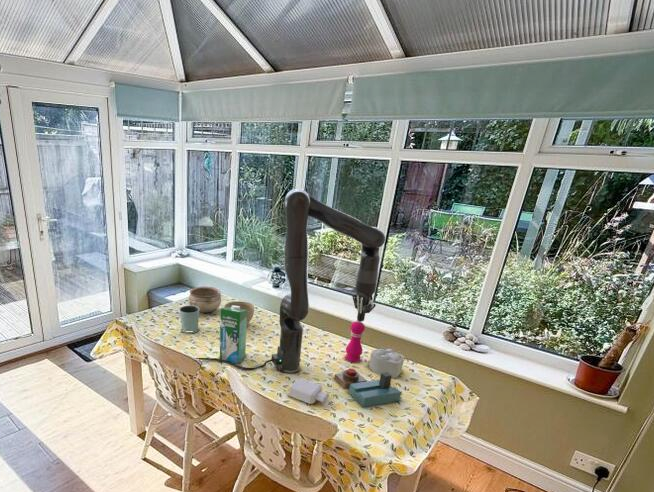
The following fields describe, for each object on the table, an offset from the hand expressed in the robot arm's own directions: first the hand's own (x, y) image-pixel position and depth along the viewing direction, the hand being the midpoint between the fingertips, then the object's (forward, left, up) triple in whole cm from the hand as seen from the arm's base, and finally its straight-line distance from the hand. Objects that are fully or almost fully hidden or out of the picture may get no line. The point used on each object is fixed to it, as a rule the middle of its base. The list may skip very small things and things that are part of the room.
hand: (360, 320), depth 166 cm
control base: (-1, -17, -25) cm, 30 cm away
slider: (+3, -17, -22) cm, 28 cm away
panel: (-4, -5, -25) cm, 26 cm away
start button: (-4, -5, -21) cm, 22 cm away
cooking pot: (-44, +85, -25) cm, 99 cm away
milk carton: (-45, +27, -25) cm, 58 cm away
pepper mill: (+8, +12, -25) cm, 29 cm away
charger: (-25, -12, -25) cm, 38 cm away
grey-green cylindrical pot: (-58, +61, -25) cm, 88 cm away
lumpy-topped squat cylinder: (+16, 0, -25) cm, 30 cm away
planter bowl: (-31, +61, -25) cm, 73 cm away
